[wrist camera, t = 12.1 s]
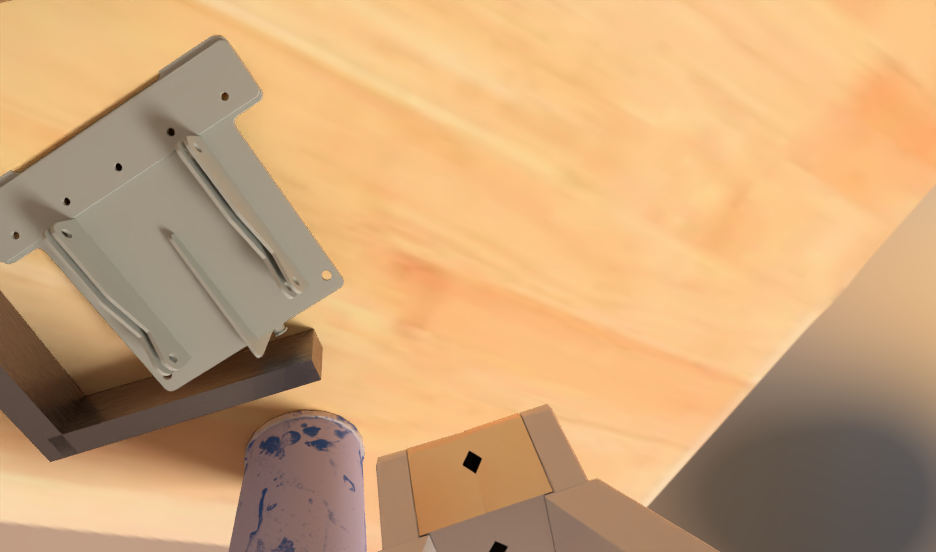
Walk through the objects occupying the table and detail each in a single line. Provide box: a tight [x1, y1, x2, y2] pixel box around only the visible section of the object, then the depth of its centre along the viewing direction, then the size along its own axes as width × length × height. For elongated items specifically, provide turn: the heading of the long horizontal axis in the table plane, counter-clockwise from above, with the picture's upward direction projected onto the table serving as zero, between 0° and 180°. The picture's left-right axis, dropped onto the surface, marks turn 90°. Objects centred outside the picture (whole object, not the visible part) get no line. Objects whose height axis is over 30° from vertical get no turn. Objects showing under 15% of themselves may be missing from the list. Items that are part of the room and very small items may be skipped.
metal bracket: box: [0, 36, 344, 391], centre depth 26 cm, size 14×6×15 cm
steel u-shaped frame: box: [0, 0, 323, 462], centre depth 24 cm, size 22×15×3 cm
